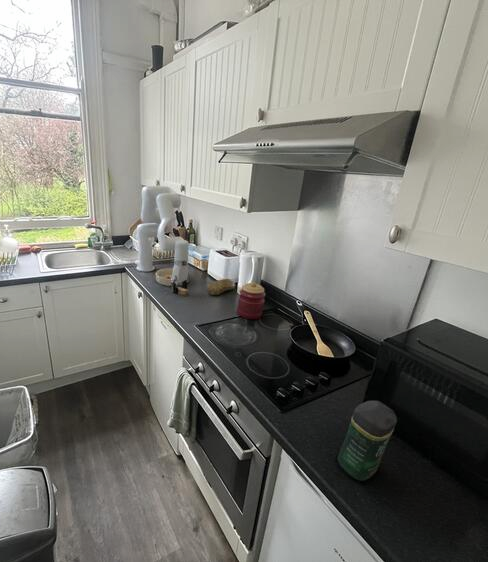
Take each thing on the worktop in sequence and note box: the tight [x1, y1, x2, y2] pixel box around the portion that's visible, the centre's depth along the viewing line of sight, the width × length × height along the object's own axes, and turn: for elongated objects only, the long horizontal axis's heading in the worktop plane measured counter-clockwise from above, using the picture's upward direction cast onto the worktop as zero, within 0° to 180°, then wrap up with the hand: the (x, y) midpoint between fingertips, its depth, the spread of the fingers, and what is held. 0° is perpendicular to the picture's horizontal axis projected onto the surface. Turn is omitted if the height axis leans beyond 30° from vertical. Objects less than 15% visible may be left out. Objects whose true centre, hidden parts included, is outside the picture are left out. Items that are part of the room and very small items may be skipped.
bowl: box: [155, 267, 190, 287], centre depth 189 cm, size 21×21×4 cm
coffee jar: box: [337, 400, 398, 482], centre depth 73 cm, size 10×8×19 cm
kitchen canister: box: [236, 281, 266, 320], centre depth 150 cm, size 13×13×18 cm
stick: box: [171, 286, 190, 297], centre depth 172 cm, size 10×3×3 cm, turn 60°
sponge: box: [206, 278, 236, 296], centre depth 176 cm, size 13×8×20 cm
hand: (180, 290), depth 172 cm, fingers open, 8 cm apart
